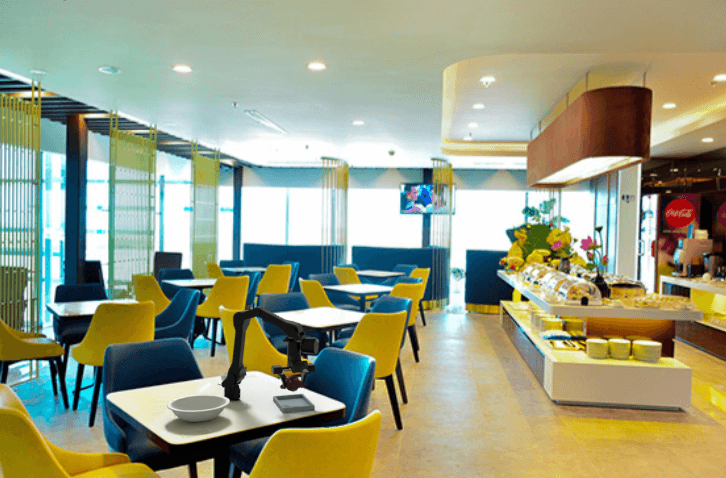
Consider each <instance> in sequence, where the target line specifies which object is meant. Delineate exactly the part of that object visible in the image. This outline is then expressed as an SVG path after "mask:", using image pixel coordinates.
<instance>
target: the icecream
mask: <svg viewBox="0 0 726 478" xmlns="http://www.w3.org/2000/svg"><path fill="white" fill-rule="evenodd" d="M285 384H286V389H284V387H283V384H281V385H280V386H279V388H280V389H281V390H287V391H288V392H289V391H290V392H292V393H294V392H297V391H298V389H300V388H301V387H303V388H304V387H306V386H307V384H306V383H305V382H304V383H303V382H302V381H301V379H300V378H299V377H298V376H296V375H290V376H288V377H287V375H285ZM301 389H302V388H301Z"/></svg>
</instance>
